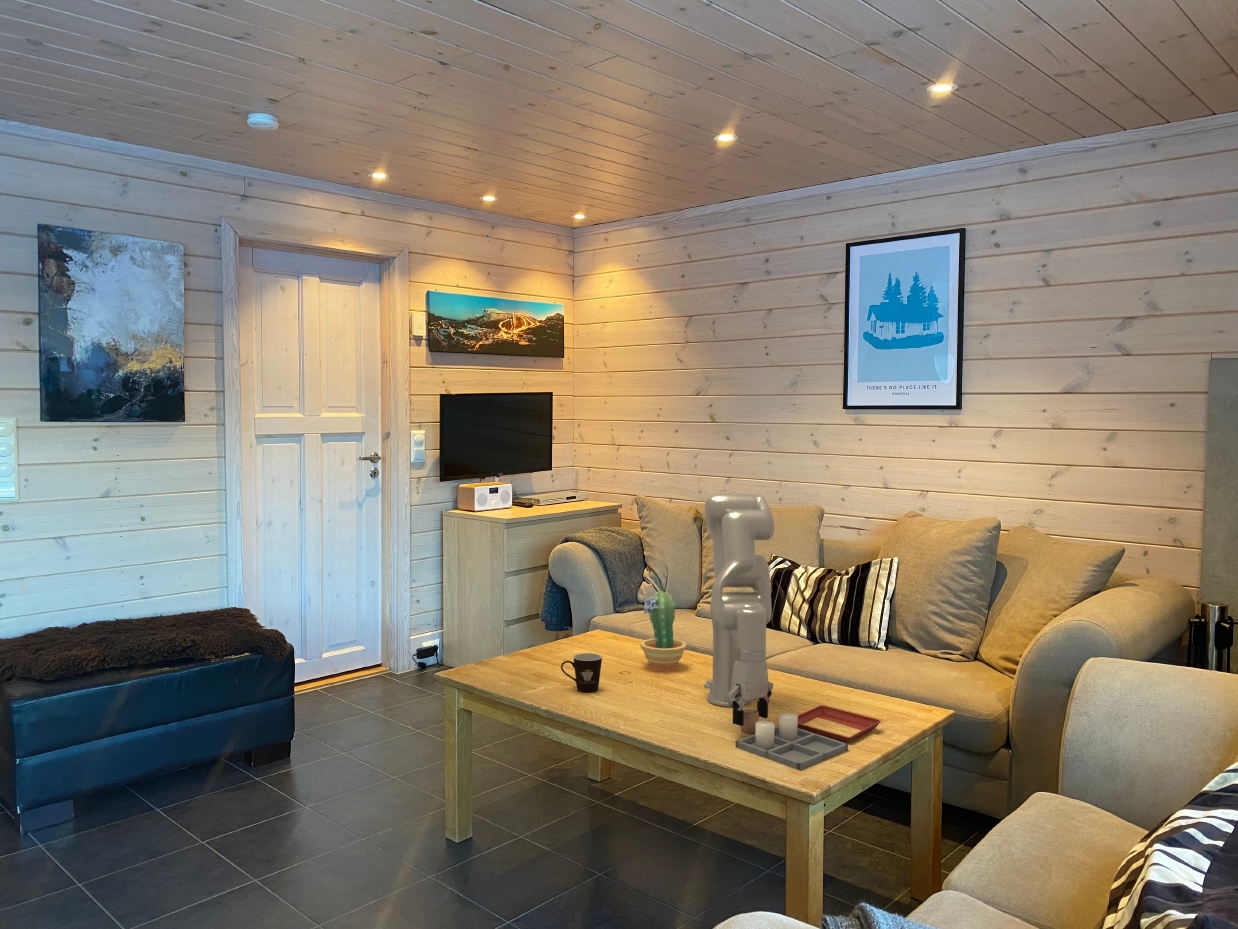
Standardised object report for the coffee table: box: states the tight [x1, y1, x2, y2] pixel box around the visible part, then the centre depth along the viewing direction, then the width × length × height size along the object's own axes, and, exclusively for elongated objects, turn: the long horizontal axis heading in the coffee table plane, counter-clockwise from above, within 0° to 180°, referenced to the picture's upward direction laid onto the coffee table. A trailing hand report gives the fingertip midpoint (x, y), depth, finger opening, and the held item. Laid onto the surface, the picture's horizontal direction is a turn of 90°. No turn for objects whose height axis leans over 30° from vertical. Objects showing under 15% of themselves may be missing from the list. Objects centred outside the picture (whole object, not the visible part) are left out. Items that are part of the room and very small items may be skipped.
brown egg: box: [740, 708, 760, 735], centre depth 237 cm, size 5×5×6 cm
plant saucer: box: [797, 704, 882, 744], centre depth 241 cm, size 18×18×3 cm
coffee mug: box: [560, 652, 603, 694], centre depth 275 cm, size 12×9×10 cm
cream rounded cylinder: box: [778, 712, 798, 742], centre depth 231 cm, size 5×5×6 cm
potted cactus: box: [639, 590, 688, 673], centre depth 299 cm, size 15×15×25 cm
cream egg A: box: [755, 720, 776, 751], centre depth 225 cm, size 5×5×6 cm
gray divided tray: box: [735, 725, 849, 771], centre depth 225 cm, size 19×19×2 cm
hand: (750, 721), depth 237 cm, fingers open, 9 cm apart
